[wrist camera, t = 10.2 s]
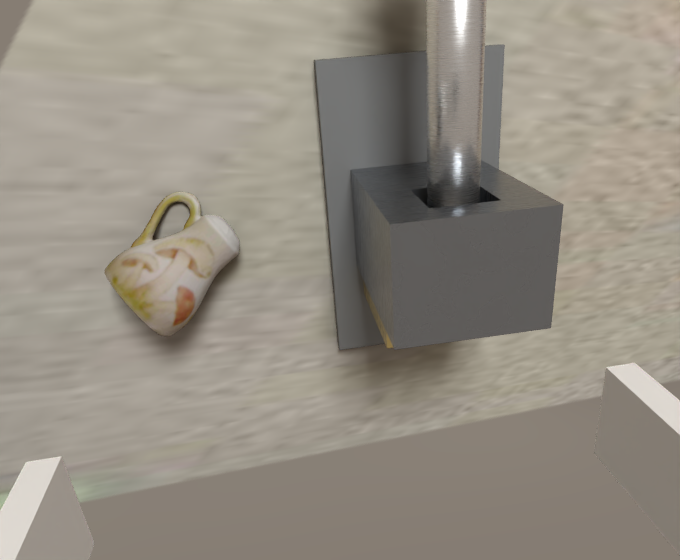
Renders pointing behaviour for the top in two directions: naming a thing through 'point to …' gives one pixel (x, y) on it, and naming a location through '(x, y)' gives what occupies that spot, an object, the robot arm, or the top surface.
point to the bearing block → (455, 256)
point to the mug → (173, 266)
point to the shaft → (454, 100)
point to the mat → (379, 152)
